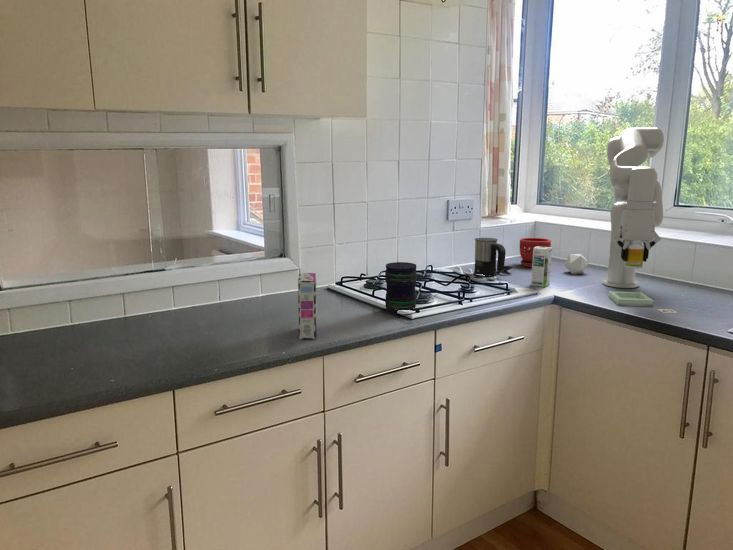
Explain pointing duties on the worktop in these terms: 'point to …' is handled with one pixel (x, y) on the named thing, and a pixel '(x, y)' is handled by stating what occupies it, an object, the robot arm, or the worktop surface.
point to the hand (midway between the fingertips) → (634, 260)
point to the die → (576, 263)
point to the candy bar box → (307, 306)
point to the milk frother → (489, 257)
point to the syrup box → (541, 266)
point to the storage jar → (400, 286)
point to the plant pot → (531, 248)
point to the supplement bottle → (635, 254)
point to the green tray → (630, 298)
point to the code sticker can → (666, 311)
